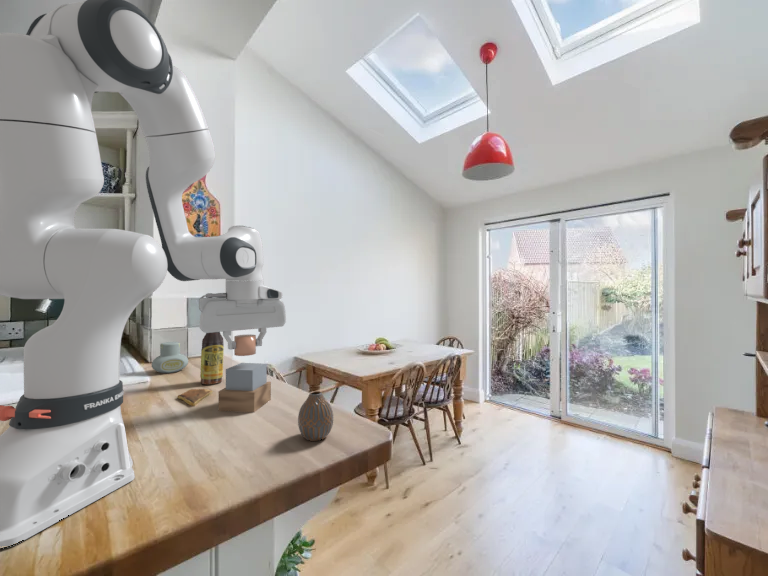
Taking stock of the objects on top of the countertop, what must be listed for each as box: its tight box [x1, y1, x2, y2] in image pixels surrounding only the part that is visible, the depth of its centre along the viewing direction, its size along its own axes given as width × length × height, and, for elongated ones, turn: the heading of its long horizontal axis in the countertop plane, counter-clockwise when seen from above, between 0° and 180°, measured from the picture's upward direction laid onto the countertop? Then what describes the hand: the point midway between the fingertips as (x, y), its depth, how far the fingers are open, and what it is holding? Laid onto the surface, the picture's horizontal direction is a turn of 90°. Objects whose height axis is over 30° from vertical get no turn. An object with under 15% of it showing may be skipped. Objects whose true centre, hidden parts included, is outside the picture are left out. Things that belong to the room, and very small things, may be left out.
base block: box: [217, 381, 272, 413], centre depth 87 cm, size 9×9×5 cm
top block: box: [225, 362, 268, 391], centre depth 87 cm, size 7×7×5 cm
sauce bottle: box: [199, 332, 225, 386], centre depth 106 cm, size 6×6×20 cm
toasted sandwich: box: [177, 388, 213, 407], centre depth 91 cm, size 11×8×2 cm
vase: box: [297, 390, 334, 442], centre depth 68 cm, size 7×7×9 cm
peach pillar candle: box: [233, 334, 257, 357], centre depth 87 cm, size 5×5×4 cm
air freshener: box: [151, 341, 189, 374], centre depth 121 cm, size 11×8×10 cm
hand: (245, 347), depth 87 cm, fingers closed on peach pillar candle, 5 cm apart
